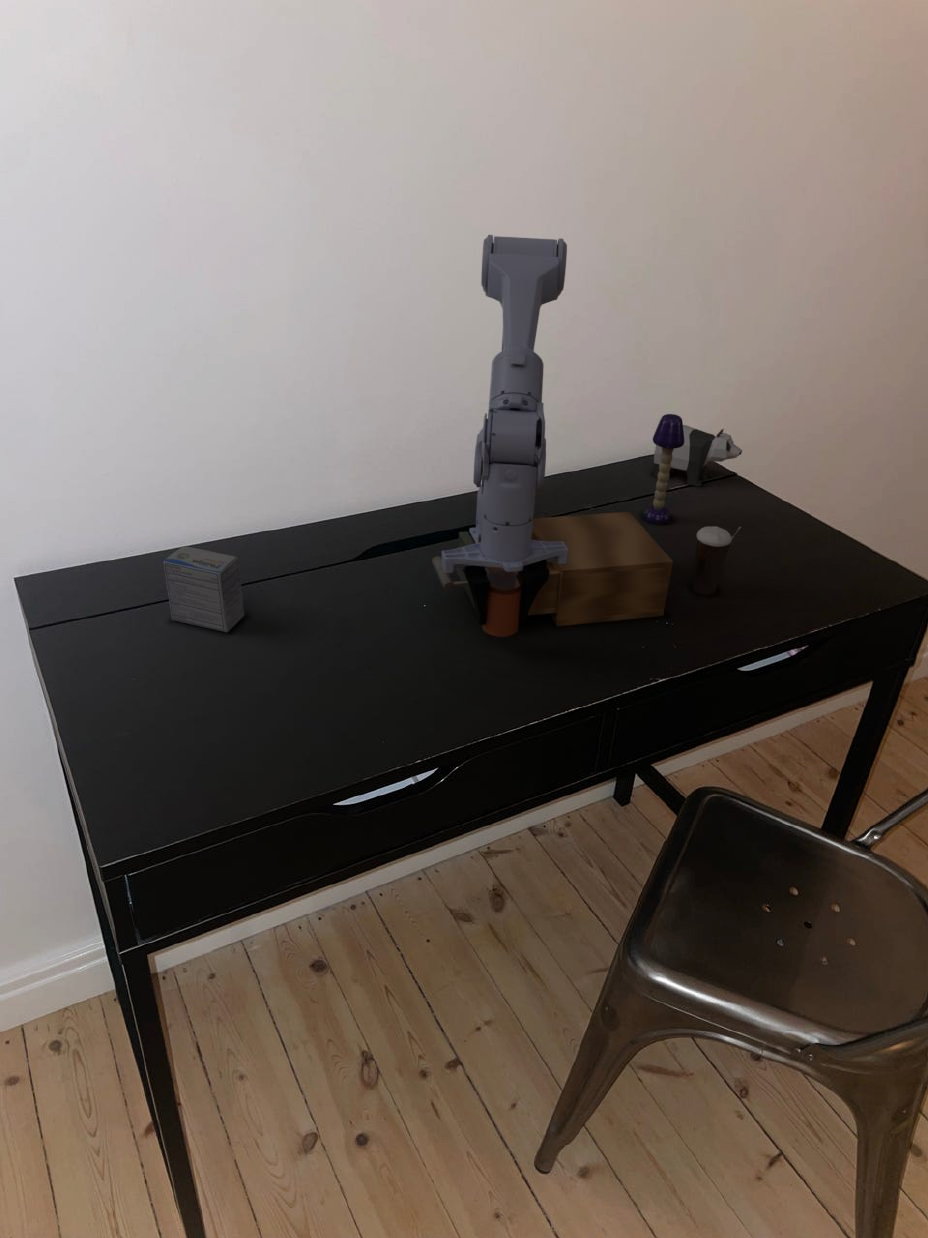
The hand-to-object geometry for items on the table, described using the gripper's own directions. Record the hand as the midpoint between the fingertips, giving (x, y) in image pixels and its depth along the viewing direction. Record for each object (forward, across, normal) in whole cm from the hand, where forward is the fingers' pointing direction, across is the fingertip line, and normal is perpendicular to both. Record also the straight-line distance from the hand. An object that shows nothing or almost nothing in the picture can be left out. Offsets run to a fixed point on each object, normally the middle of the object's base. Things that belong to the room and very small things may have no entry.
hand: (500, 618), depth 114 cm
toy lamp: (+5, +34, +31) cm, 46 cm away
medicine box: (+5, -34, +13) cm, 37 cm away
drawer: (+4, +4, +11) cm, 12 cm away
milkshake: (+5, +32, +9) cm, 34 cm away
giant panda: (+4, +46, +45) cm, 65 cm away
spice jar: (+1, 0, 0) cm, 1 cm away
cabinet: (+4, +16, +11) cm, 20 cm away
